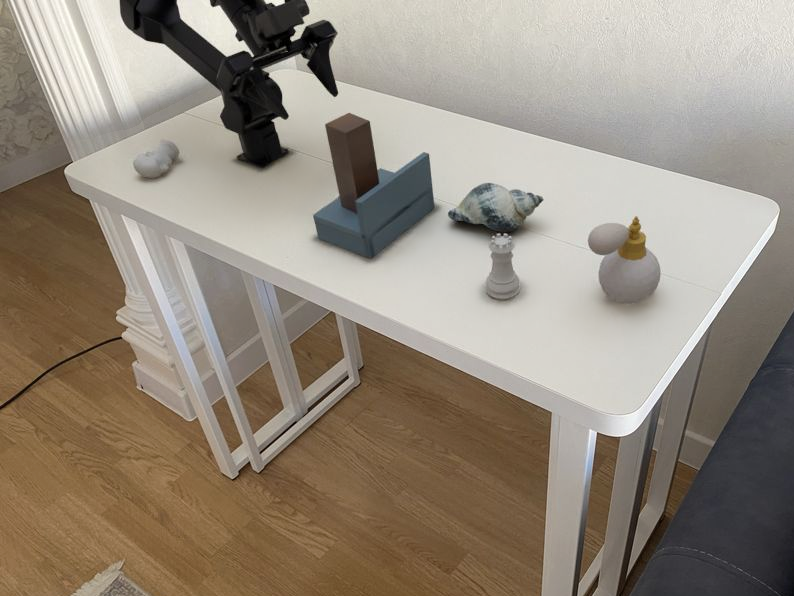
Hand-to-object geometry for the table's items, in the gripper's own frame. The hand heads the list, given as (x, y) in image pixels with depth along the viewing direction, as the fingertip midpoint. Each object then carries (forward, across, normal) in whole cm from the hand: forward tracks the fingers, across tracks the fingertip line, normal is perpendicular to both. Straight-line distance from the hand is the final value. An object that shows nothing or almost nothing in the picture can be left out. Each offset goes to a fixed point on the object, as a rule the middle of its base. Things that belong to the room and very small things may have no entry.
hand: (312, 106), depth 105 cm
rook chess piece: (+37, -2, -17) cm, 41 cm away
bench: (+19, -2, 0) cm, 19 cm away
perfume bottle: (+46, +5, -26) cm, 53 cm away
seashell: (+29, +8, -10) cm, 32 cm away
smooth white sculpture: (-10, -14, +29) cm, 34 cm away
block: (+16, -4, -3) cm, 17 cm away
